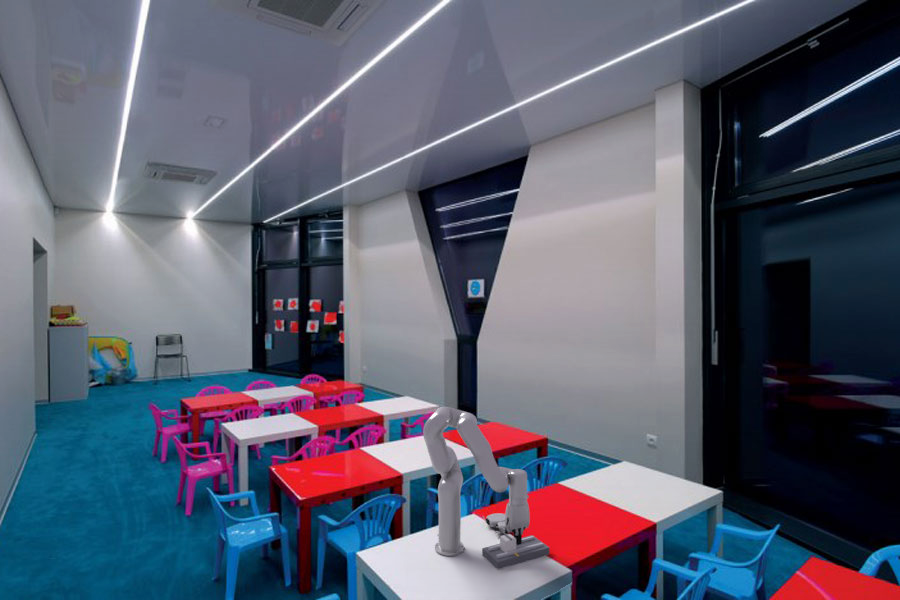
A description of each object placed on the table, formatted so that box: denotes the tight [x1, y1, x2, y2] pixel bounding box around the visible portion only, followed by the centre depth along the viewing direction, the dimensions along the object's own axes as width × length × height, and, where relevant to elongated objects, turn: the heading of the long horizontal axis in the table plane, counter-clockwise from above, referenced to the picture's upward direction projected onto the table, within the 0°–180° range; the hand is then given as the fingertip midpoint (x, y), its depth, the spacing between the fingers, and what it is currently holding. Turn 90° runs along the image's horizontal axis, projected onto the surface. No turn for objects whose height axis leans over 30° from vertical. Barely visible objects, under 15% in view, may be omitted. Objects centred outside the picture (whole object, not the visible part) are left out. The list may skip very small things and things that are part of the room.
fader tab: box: [499, 533, 516, 552], centre depth 200 cm, size 5×5×6 cm
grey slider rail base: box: [481, 534, 550, 570], centre depth 201 cm, size 12×26×4 cm, turn 117°
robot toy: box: [482, 512, 510, 535], centre depth 225 cm, size 12×4×15 cm
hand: (517, 543), depth 202 cm, fingers closed
